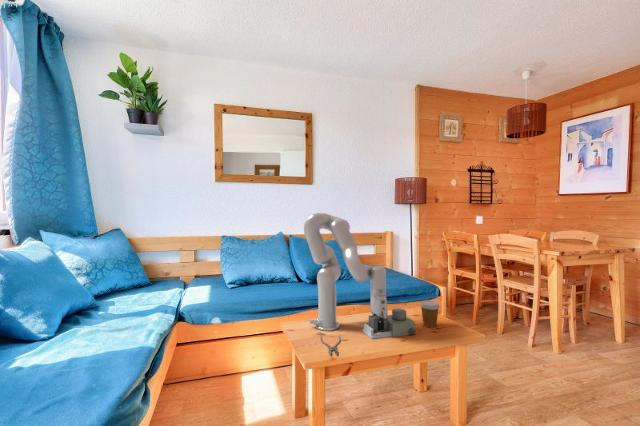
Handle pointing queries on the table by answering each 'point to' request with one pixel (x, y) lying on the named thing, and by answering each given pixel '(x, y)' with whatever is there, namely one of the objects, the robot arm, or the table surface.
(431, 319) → the disposable coffee cup
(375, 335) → the knobbed sage block
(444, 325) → the table surface
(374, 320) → the dark grey block
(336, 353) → the pliers
